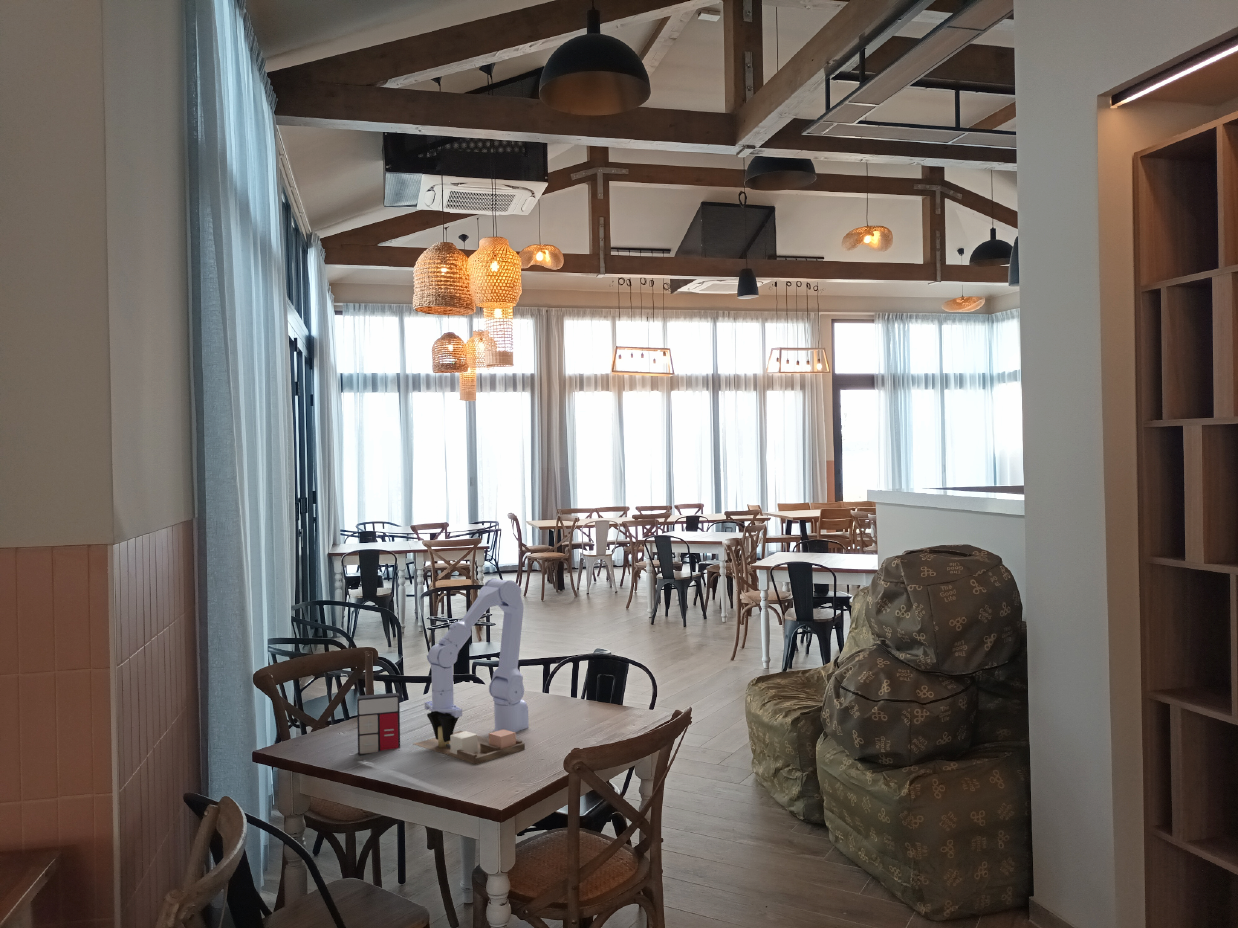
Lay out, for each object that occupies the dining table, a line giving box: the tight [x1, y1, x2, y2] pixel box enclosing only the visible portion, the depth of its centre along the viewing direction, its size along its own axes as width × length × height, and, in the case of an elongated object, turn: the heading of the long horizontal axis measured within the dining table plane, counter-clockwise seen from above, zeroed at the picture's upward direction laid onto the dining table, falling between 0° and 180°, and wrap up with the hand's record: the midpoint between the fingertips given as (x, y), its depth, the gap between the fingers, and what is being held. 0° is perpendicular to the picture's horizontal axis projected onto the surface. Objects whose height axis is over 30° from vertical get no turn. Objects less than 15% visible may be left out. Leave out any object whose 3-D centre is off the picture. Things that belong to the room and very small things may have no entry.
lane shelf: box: [413, 730, 526, 765], centre depth 235 cm, size 16×28×3 cm, turn 47°
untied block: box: [488, 729, 517, 749], centre depth 231 cm, size 5×5×4 cm
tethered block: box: [438, 726, 478, 754], centre depth 233 cm, size 5×13×5 cm, turn 47°
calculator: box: [356, 692, 401, 756], centre depth 236 cm, size 11×4×15 cm, turn 105°
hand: (443, 739), depth 236 cm, fingers closed on tethered block, 3 cm apart
